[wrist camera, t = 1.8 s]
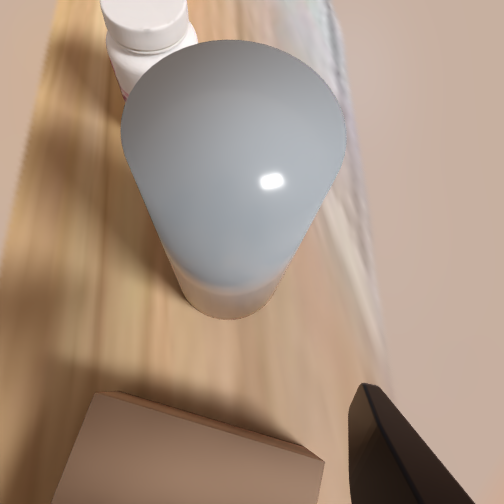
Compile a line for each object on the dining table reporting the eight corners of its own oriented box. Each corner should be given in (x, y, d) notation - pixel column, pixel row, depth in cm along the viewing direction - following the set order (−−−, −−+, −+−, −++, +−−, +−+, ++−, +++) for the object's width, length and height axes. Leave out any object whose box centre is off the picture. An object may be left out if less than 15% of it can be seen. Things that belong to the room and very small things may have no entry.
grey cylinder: (264, 332, 21) (321, 257, 9) (162, 302, 21) (82, 188, 9) (289, 237, 23) (363, 71, 11) (196, 210, 23) (167, 18, 11)
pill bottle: (118, 107, 26) (71, -19, 18) (180, 78, 27) (162, -51, 19) (154, 159, 24) (121, 50, 17) (217, 127, 26) (214, 10, 18)
